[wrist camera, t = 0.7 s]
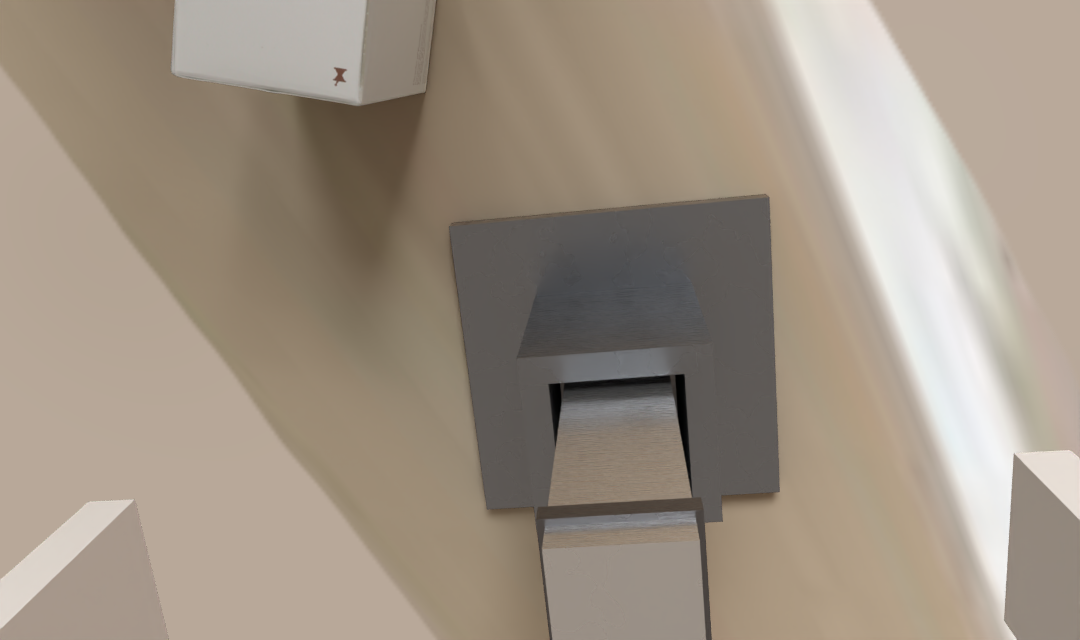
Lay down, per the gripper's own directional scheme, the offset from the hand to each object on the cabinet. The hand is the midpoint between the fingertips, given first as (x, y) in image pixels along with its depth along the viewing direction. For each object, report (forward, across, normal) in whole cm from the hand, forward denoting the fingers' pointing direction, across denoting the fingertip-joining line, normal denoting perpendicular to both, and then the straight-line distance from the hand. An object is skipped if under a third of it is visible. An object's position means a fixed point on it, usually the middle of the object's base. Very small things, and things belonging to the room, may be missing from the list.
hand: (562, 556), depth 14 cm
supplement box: (+35, -11, +10) cm, 38 cm away
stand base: (+34, +1, -9) cm, 35 cm away
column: (+33, +1, -9) cm, 34 cm away
